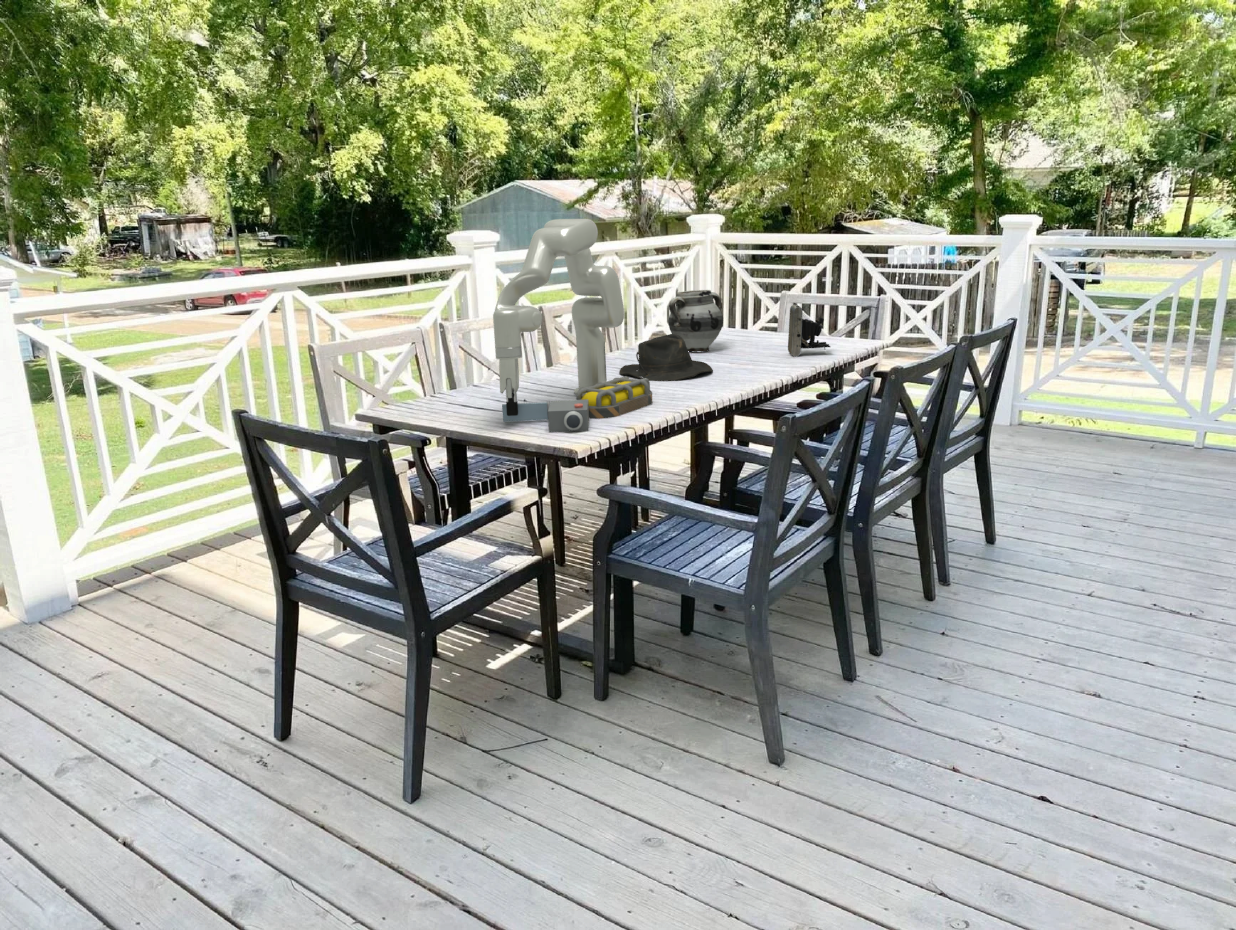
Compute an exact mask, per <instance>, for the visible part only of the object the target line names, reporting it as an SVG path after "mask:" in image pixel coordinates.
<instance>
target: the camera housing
mask: <svg viewBox="0 0 1236 930" xmlns="http://www.w3.org/2000/svg"><path fill="white" fill-rule="evenodd" d="M547 421H548V432H549V433H560V432H561V433H564V432H565V433H566V432H585V431H586V432H588V431H589V428H590V426H589V424H590V419H589V404H588V399H586V400H576V399H569V400H568V399H565V400H550V406H549V410H548V420H547Z"/></svg>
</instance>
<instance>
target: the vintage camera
mask: <svg viewBox="0 0 1236 930" xmlns="http://www.w3.org/2000/svg"><path fill="white" fill-rule="evenodd" d="M824 321H825V319H824V318H823V317H818V321H817V322H816V321H814V320H810V319H808V318H805V319H804V318H803V308H802V307H801V306H799V305H798V304H796V303H793V304H792V305H791V306H790V307H789V321H788V339H787V340H788V342H787V351H788V352H789V354H790V353H791V354H790V355H791V356H793V357H794V356H797V357H799V356H800V354H801V351H802V350H801V349H822V348H824V349H826V348H831V345H830V344H829V343H827V342H826V341H821V342H820V340H816V337H820V335H821V333H822V330H823V325H821V324H823V323H824ZM815 340H816V341H815ZM808 341H809V342H808Z"/></svg>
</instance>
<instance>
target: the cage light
mask: <svg viewBox="0 0 1236 930" xmlns="http://www.w3.org/2000/svg"><path fill="white" fill-rule="evenodd" d="M629 377H630V376H629ZM629 377H628V375H624V376H621V377H614V378H613V379H611V380H608V381H607V382H604V383H602V382H600V383H597V384H596V385H594V386H590V387H587V388H580V389H579V390H578V392H577V394H575V400H586V399H588V404H589V420H593V419H594V420H595V419H596V420H597V419H598V420H599V419H601V420H602V419H610V418H616V417H619V416H622V415H624V414H628V413H631V412H633V411H637V410H639V409H643V408H645V407H649V406H651V405H652V404H653V391H652V390H651V383H650V382H651V381H649V380H648V379H647V378H643V377H642V378H643V379H640V378H639V379H638V378H635V379H634V378H629ZM600 388H601V389H600ZM584 393H586V394H585V395H583V396H582V394H584Z"/></svg>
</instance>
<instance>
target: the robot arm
mask: <svg viewBox="0 0 1236 930" xmlns="http://www.w3.org/2000/svg"><path fill="white" fill-rule="evenodd" d="M598 232H599V231H598V226H597V224H596V222H594V221H593V220H592V219H590V218H560V219H559V218H558V219H557V218H556V219H551V220H548V221H547V222H546V223H545V224H544V225H543V227H542V228H539V229H537V230H535V231H534V233H533V235H532V237H531V239H530V243H529V246H528V249H527V253H526V256H525V259H524V262H523V265H522V268H521V270H520V272H519V273H518V274H516V275H515V276H514V277H513V278H512V279H510V281H509V282H508V283H507V284H506V285H505V286H504V287H503V288H502V290H501V291H500V294H499V296H498V299H497V302H496V306H495V308H494V312H493V314H492V320H493V333H494V334H493V338H494V350H495V359H496V360H498V362H499V364H498V365H499V366H498V367H499V368H498V369H499V370H498V371H499V373H498V374H499V393H500V394H504V392H505V400H506V402H505V404H506V409H507V416H517V415H518V404H519V403H518V400H517V399H518V396H517V395H518V393H517V392H518V390H519V387H520V369H519V359H521V358H523V352H522V351H523V350H522V349H523V348H522V335H521V333H532V332H535V331H537V330H539V328H540V327H541V325H542V322H543V315H542V312H541V311H540V310H539V309H538V308H537V307H535V306H531V305H516V304H517V303H518V301H519V300H520V299H521V298H522V297H523V296H525V295H527V294H528V293H531V292H533V291H534V290H537V289H539V288H541V287H543V286H544V285H547V283H549V280H550V278H551V274H552V272H553V271H552V270H553V267H554V265H555V261H556V258H557V257H564V260H565V265H566V270H567V274H568V279H569V284H570V287H571V290H572V293H574V294H575V295H577V296H581V298H579V299H576V300H575V301H574V302H573V305H572V307H571V316H572V322H573V325H574V331H575V340H576V362H577V380H578V384H577V385H578V387H577V388H575V389H574V390H573V391H574V394H575V395H576V394H577V392H578V390H579V389H580V388H587V387H590V386H594V385H596V384H597V383H600V382H602V383H604V382H607V359H606V354H607V353H606V339H605V336H604V334H603V332H602V330H601V329H600V328H609V329H612V328H617V327H620V326H621V325H622V324H623V322H624V319H625V308H624V302H623V295H622V290H621V289H622V288H621V284H620V280H619V279H620V278H619V276H618V273H617V271H616V270H615V269H614V268H613V267H611V266H608V265H596V264H594V261H593V256H592V252H591V249H590V248H591V247H593V246H594V245H595V243H596V242H597V240H598V234H599V233H598ZM582 296H584V297H582ZM600 389H601V388H600ZM585 394H586V393H584V394H582V397H583V395H585Z"/></svg>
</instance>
